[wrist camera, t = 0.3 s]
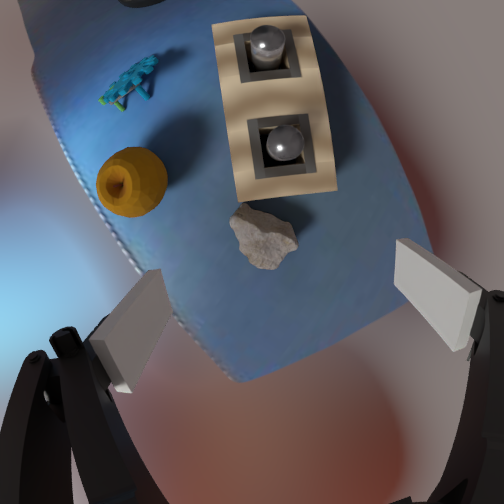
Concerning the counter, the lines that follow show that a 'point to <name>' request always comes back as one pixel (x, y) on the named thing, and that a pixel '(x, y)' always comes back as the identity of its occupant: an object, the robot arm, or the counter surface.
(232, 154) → the socket block
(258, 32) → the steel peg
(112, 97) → the teal knobby branched piece
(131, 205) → the apple
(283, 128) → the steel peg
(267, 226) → the stone
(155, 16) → the counter surface
